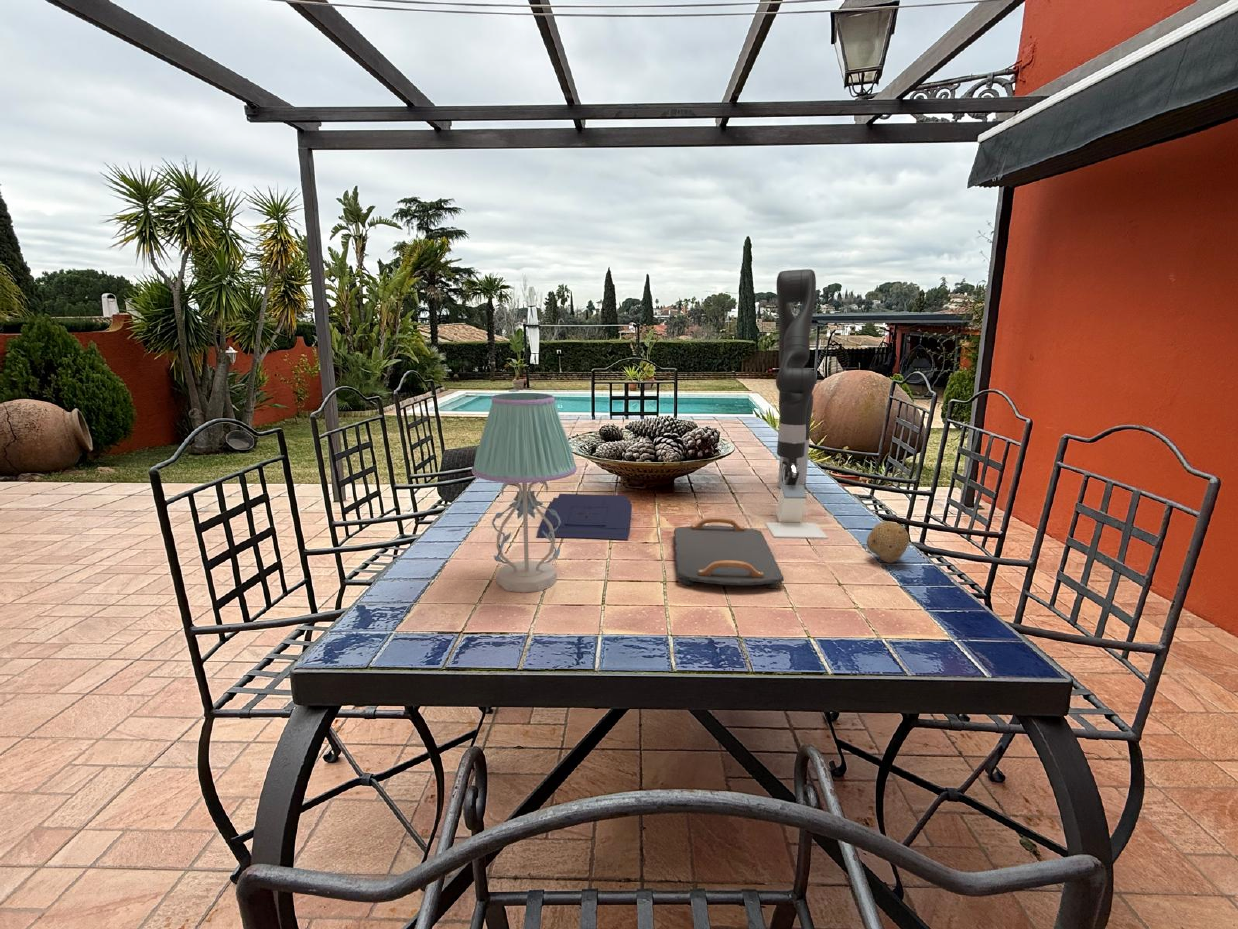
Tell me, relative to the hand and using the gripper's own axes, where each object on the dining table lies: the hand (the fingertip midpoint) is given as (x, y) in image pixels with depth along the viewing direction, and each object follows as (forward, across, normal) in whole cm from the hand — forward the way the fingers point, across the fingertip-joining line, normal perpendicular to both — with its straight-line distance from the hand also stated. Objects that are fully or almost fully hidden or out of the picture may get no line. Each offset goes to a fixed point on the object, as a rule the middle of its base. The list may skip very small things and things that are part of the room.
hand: (787, 499), depth 184 cm
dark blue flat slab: (+7, +6, -57) cm, 57 cm away
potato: (+6, +33, +16) cm, 37 cm away
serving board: (+7, +34, -22) cm, 41 cm away
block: (+5, +2, 0) cm, 5 cm away
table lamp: (+7, +49, -67) cm, 83 cm away
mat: (+6, +11, 0) cm, 12 cm away
